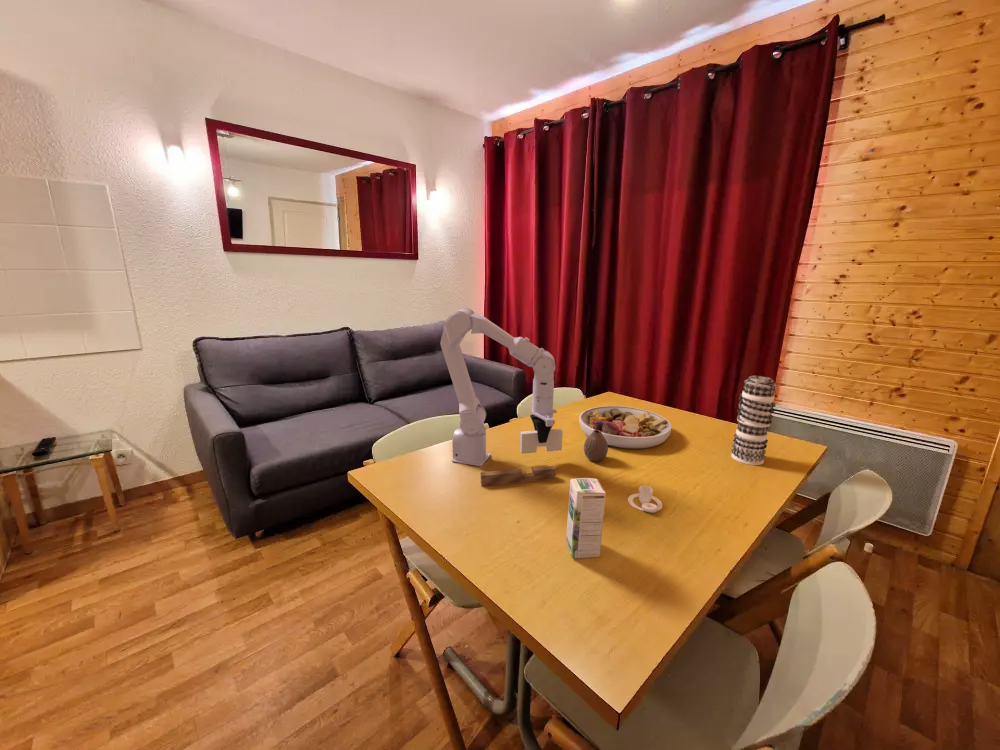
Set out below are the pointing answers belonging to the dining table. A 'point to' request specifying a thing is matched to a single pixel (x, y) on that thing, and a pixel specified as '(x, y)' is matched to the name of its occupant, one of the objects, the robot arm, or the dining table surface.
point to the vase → (596, 446)
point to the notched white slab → (531, 443)
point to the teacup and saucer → (646, 500)
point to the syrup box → (585, 517)
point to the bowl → (626, 426)
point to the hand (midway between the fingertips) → (541, 440)
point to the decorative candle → (753, 420)
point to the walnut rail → (517, 476)
